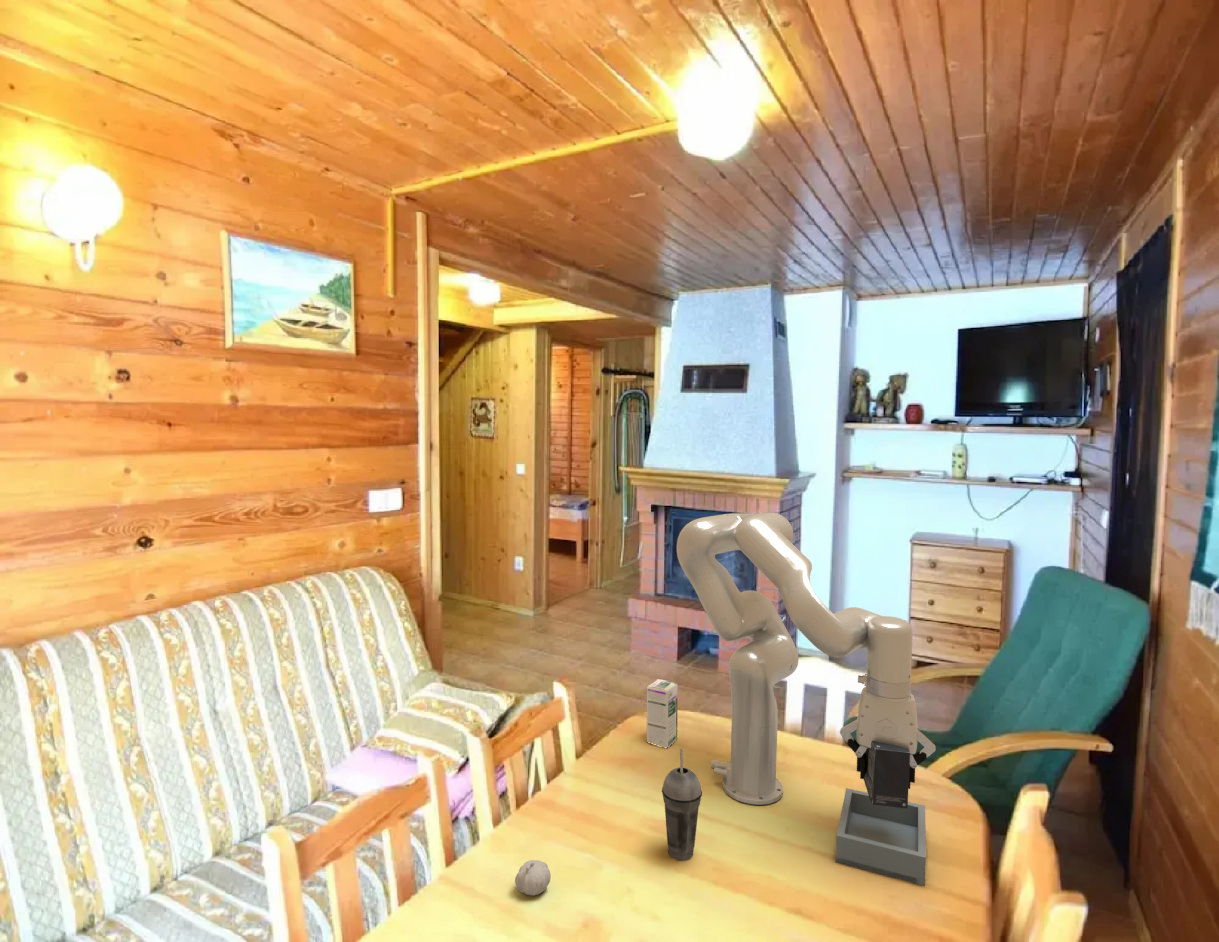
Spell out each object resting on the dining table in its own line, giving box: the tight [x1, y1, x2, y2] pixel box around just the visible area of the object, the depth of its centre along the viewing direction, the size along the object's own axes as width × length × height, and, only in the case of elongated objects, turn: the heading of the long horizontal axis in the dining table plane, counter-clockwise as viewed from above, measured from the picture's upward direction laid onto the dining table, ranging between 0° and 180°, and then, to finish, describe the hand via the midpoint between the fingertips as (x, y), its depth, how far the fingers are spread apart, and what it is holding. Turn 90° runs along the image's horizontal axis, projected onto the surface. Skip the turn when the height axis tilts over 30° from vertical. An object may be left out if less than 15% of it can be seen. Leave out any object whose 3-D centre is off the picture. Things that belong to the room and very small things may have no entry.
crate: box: [835, 787, 927, 887], centre depth 125 cm, size 14×17×5 cm
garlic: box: [514, 859, 551, 896], centre depth 112 cm, size 6×5×5 cm
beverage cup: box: [661, 747, 703, 862], centre depth 122 cm, size 7×7×20 cm
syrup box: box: [646, 678, 678, 748], centre depth 165 cm, size 6×6×14 cm
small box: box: [863, 741, 910, 809], centre depth 124 cm, size 11×6×10 cm, turn 168°
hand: (885, 779), depth 124 cm, fingers closed on small box, 7 cm apart
